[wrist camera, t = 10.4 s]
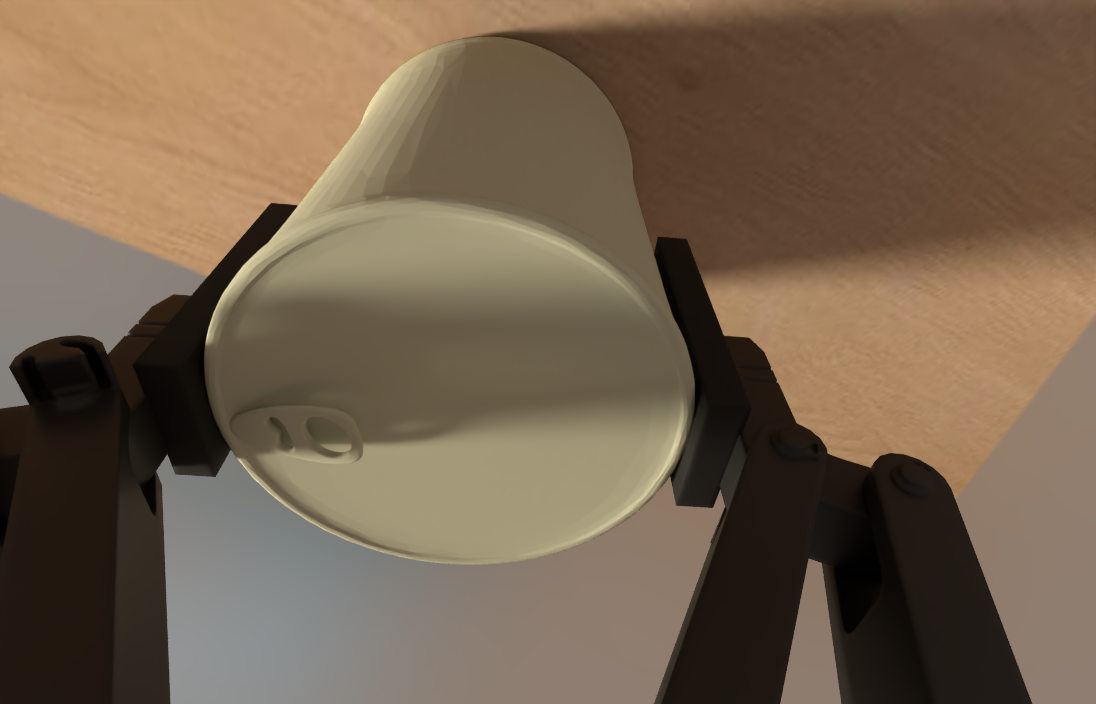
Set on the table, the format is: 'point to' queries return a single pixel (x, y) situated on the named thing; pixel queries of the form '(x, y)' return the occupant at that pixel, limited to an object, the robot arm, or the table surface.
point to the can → (460, 322)
